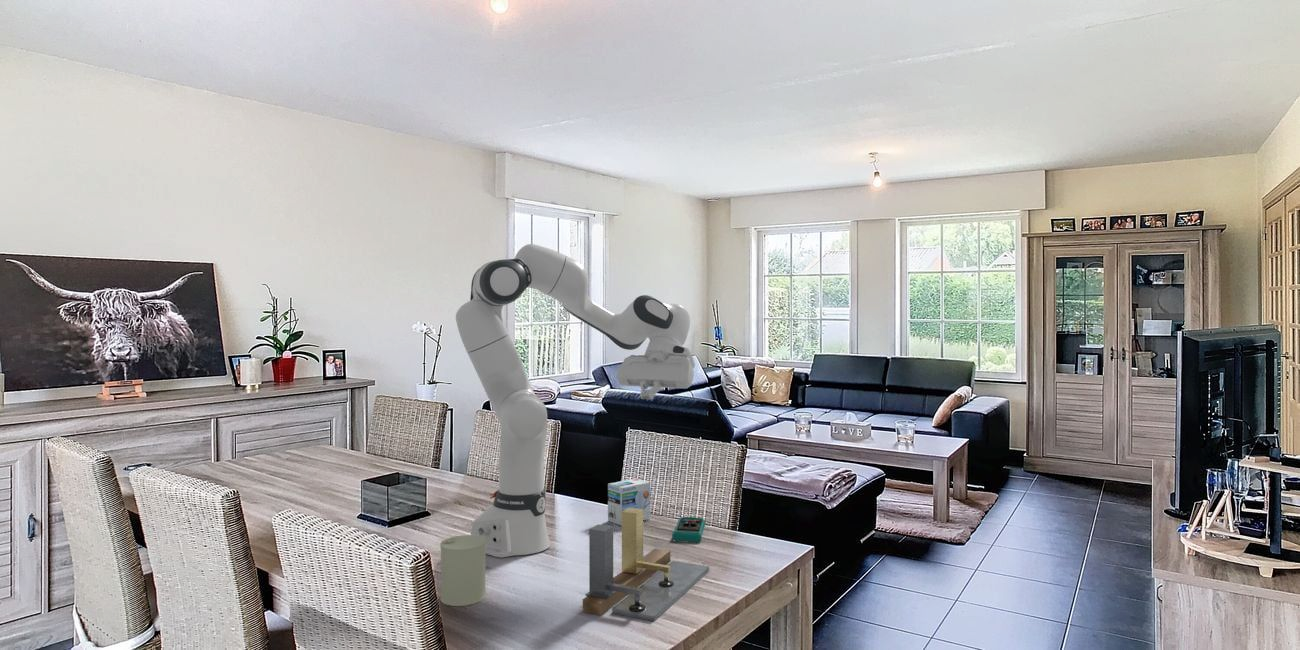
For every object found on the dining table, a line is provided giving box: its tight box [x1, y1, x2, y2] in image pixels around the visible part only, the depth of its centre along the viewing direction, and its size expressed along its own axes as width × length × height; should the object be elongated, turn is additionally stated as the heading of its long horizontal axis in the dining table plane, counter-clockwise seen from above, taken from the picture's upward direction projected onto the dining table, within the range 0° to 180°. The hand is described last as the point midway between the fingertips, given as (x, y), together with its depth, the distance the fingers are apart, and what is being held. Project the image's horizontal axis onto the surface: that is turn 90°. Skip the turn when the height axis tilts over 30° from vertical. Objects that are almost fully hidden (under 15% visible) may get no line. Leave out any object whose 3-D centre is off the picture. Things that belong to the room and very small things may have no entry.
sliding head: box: [621, 508, 671, 582], centre depth 158 cm, size 10×4×14 cm, turn 65°
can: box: [439, 534, 487, 607], centre depth 151 cm, size 9×9×12 cm
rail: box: [582, 548, 671, 616], centre depth 158 cm, size 4×34×2 cm, turn 155°
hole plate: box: [611, 560, 710, 622], centre depth 155 cm, size 9×30×1 cm, turn 155°
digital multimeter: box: [672, 516, 706, 543], centre depth 195 cm, size 7×15×3 cm, turn 171°
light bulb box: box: [607, 478, 651, 527], centre depth 207 cm, size 11×7×11 cm, turn 131°
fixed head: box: [585, 523, 642, 606], centre depth 145 cm, size 11×4×14 cm, turn 65°
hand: (645, 397), depth 183 cm, fingers closed
